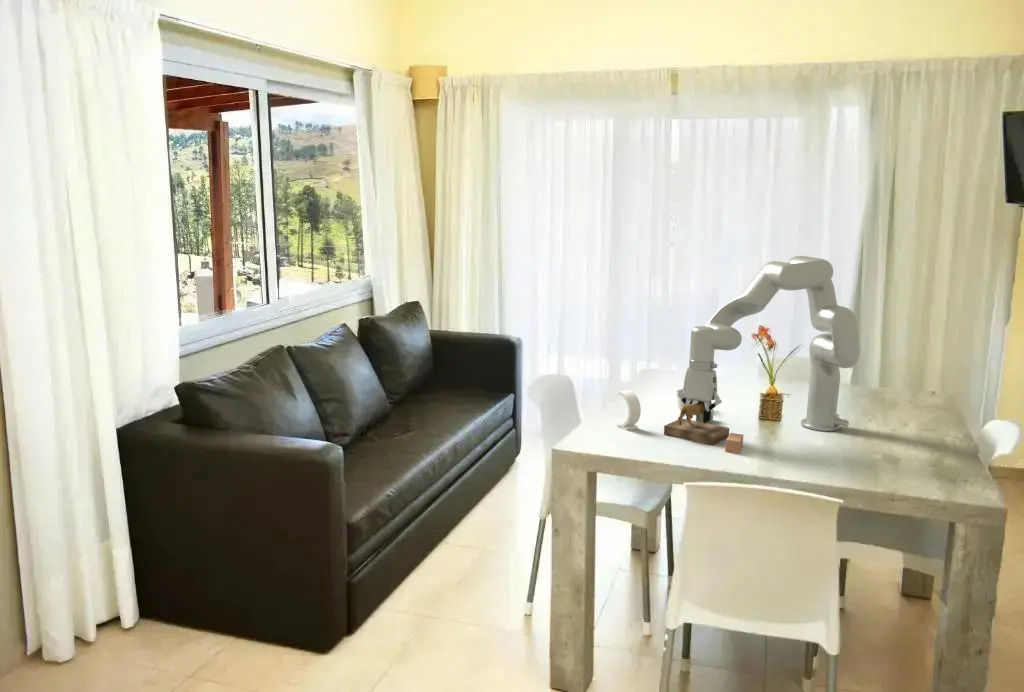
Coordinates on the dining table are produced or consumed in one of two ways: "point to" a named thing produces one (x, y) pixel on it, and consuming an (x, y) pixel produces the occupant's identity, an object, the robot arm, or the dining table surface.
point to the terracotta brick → (734, 443)
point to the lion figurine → (692, 412)
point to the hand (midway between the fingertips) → (697, 420)
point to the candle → (682, 402)
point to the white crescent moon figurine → (631, 410)
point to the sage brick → (709, 420)
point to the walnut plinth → (697, 431)
